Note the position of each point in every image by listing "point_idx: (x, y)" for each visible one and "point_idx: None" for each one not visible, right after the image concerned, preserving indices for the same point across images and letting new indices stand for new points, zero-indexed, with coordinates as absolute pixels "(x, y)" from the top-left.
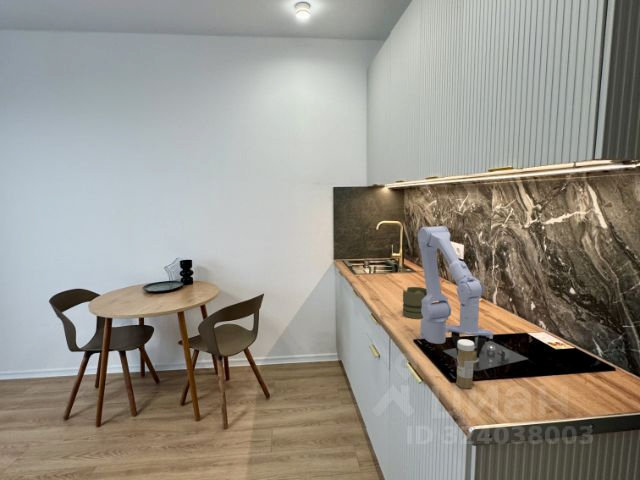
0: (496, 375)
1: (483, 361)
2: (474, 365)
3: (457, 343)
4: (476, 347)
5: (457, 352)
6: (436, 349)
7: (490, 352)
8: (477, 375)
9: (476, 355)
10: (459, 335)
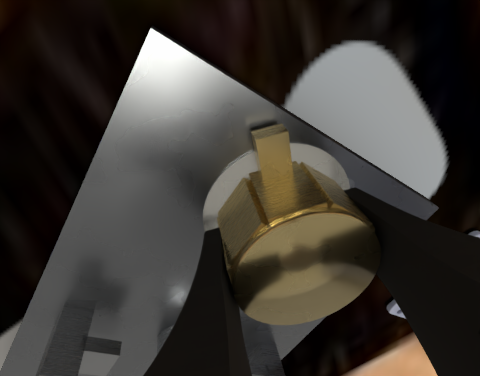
0: (9, 113)
1: (172, 231)
2: (203, 132)
3: (430, 242)
4: (245, 308)
5: (366, 194)
6: (455, 221)
7: None
8: (130, 4)
9: (223, 239)
10: (453, 355)
